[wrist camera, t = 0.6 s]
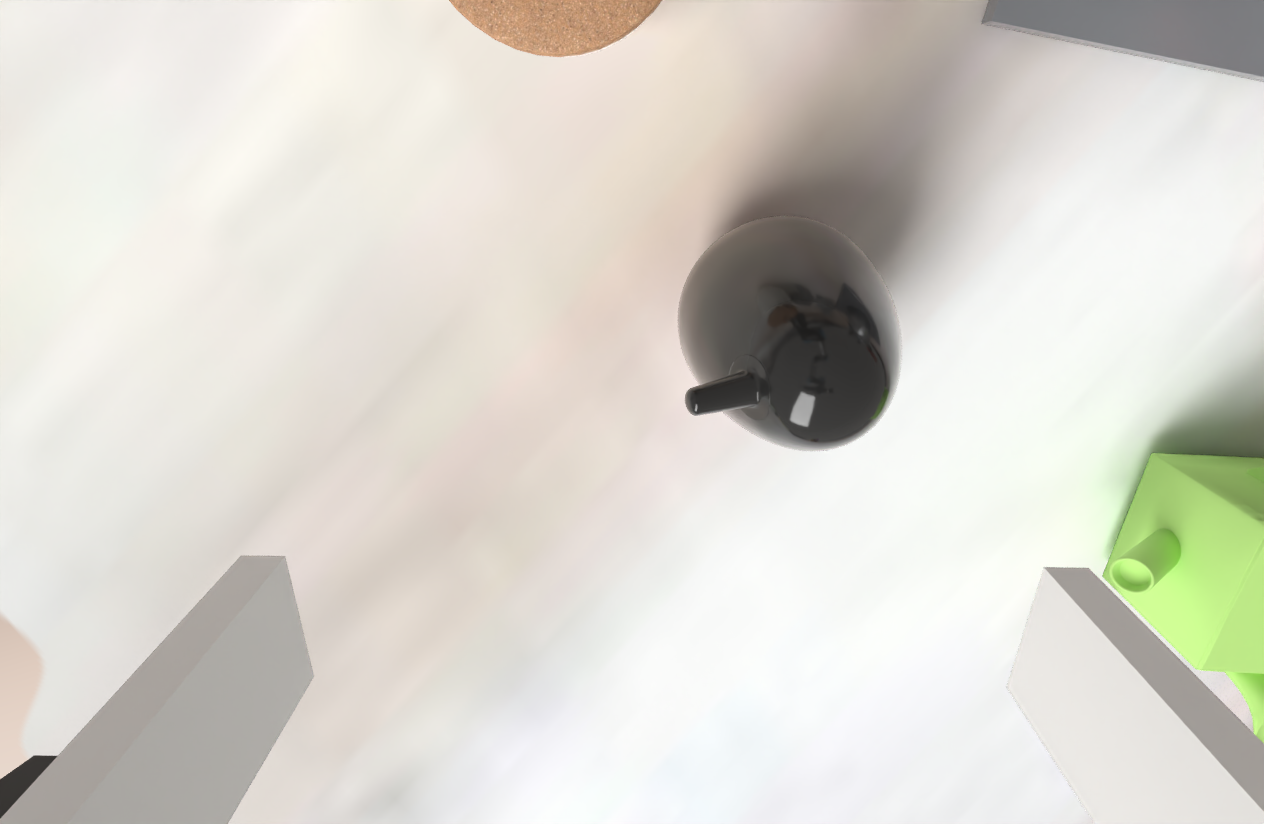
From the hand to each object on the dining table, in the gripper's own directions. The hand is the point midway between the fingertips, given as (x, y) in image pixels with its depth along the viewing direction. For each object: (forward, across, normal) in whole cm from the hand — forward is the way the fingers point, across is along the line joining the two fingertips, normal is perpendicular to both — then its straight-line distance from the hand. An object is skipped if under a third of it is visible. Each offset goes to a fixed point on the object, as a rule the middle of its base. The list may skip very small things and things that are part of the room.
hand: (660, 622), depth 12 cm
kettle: (+28, +36, -15) cm, 48 cm away
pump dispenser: (+28, +6, -1) cm, 29 cm away
